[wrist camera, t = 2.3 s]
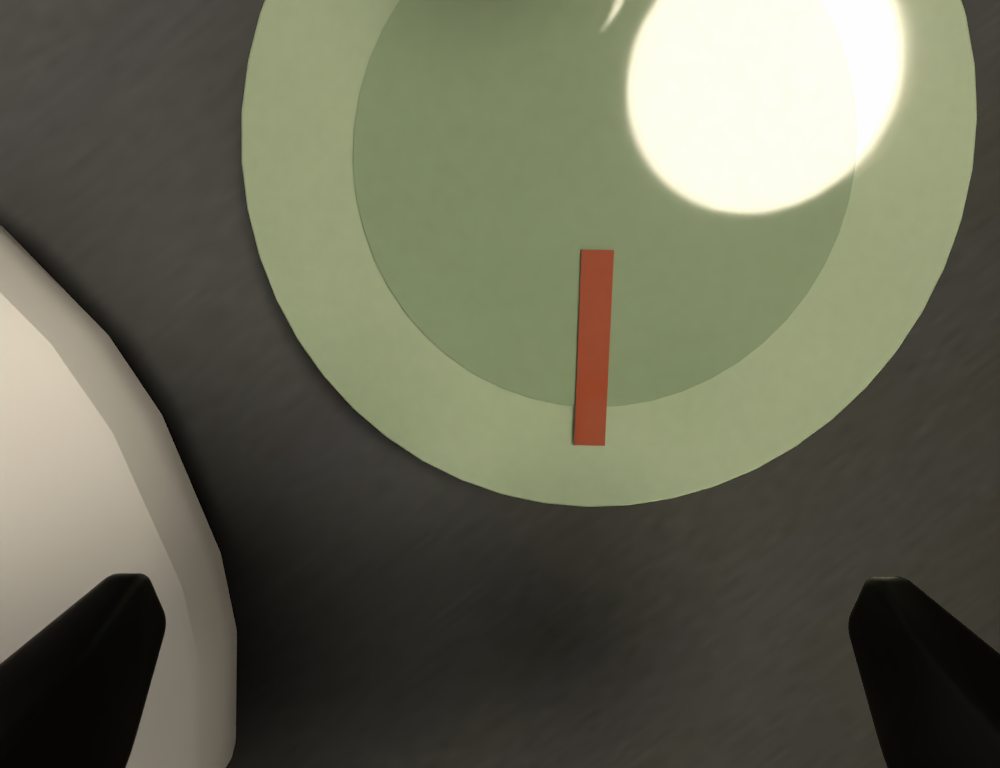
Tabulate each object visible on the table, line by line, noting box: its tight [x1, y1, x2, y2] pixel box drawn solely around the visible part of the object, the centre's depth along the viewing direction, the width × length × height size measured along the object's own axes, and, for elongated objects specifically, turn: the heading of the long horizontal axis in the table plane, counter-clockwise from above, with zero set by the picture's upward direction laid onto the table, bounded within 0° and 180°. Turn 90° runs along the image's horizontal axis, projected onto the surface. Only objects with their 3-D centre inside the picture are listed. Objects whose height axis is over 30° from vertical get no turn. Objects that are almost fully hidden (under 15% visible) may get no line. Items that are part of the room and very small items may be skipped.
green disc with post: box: [242, 0, 977, 507], centre depth 12 cm, size 18×18×13 cm
